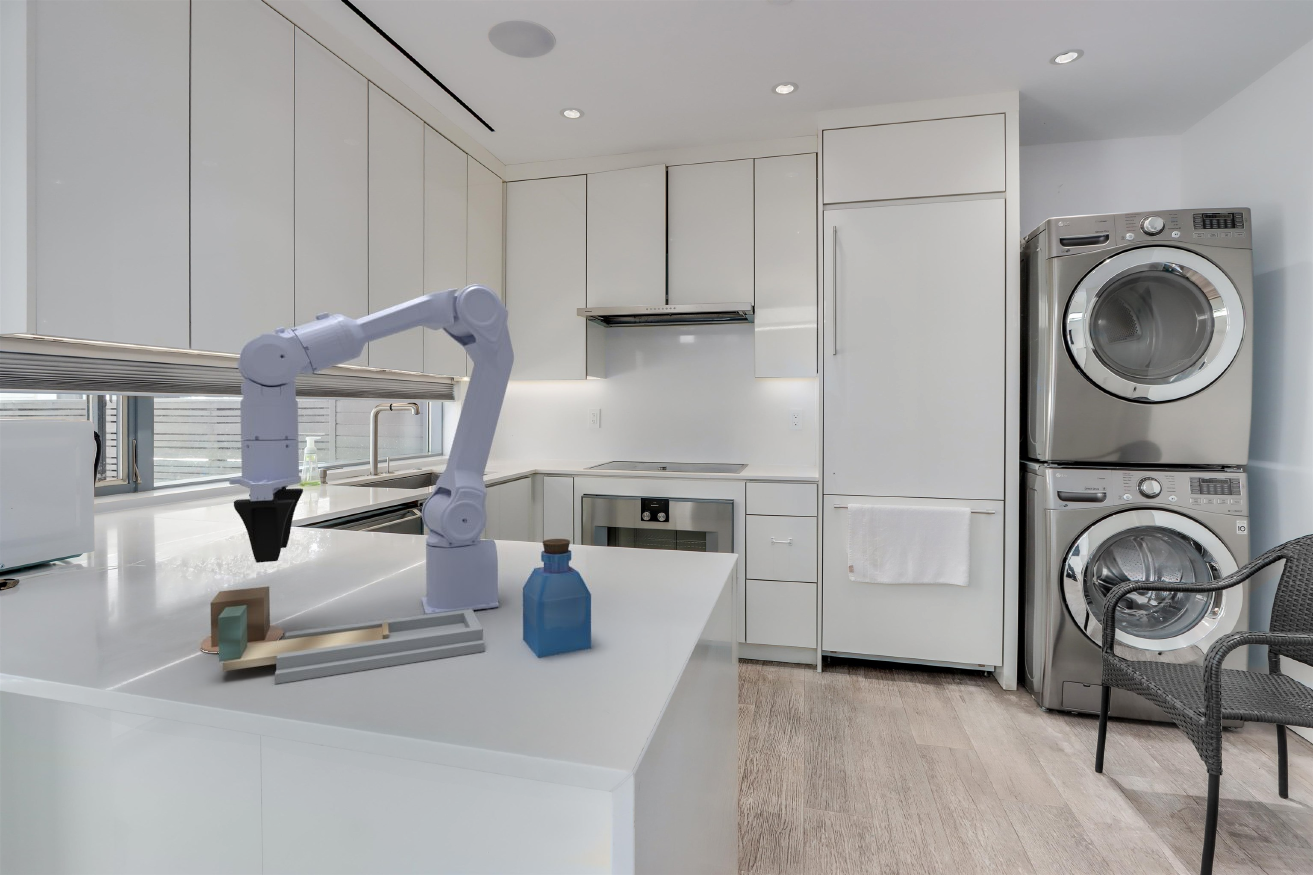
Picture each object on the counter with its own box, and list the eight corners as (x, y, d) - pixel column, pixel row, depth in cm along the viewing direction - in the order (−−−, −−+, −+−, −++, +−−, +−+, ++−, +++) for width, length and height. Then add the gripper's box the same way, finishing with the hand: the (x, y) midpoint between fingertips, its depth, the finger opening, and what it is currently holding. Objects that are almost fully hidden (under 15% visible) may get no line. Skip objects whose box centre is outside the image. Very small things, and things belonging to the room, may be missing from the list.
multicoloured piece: (387, 633, 70) (387, 588, 70) (388, 647, 66) (388, 600, 66) (228, 654, 64) (227, 605, 64) (217, 671, 60) (216, 619, 59)
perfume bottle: (537, 658, 66) (537, 548, 66) (523, 639, 72) (522, 538, 71) (591, 648, 69) (591, 543, 69) (572, 631, 75) (572, 534, 74)
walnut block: (270, 626, 74) (269, 586, 74) (264, 640, 70) (263, 597, 70) (220, 633, 72) (219, 591, 72) (211, 647, 67) (210, 602, 67)
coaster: (287, 625, 76) (287, 621, 76) (278, 646, 69) (278, 642, 69) (209, 634, 73) (209, 630, 73) (192, 658, 66) (192, 654, 66)
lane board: (471, 623, 77) (470, 606, 77) (484, 651, 68) (484, 631, 68) (287, 648, 68) (287, 629, 68) (275, 683, 59) (274, 661, 59)
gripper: (241, 438, 76) (243, 545, 77) (214, 442, 63) (217, 571, 64) (306, 437, 79) (307, 540, 80) (293, 441, 66) (295, 565, 67)
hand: (272, 554), depth 72 cm, fingers open, 7 cm apart
